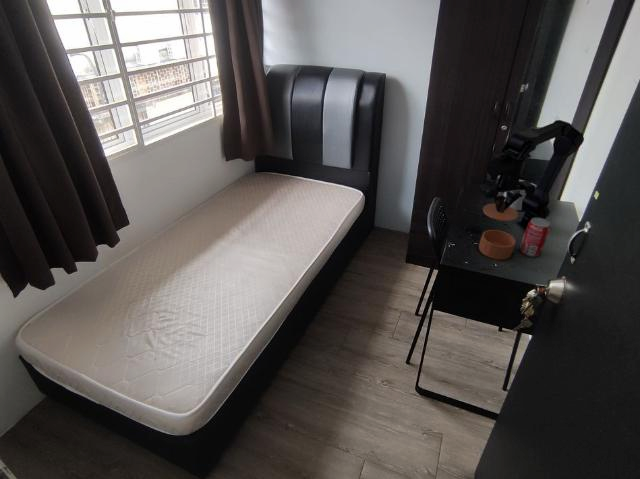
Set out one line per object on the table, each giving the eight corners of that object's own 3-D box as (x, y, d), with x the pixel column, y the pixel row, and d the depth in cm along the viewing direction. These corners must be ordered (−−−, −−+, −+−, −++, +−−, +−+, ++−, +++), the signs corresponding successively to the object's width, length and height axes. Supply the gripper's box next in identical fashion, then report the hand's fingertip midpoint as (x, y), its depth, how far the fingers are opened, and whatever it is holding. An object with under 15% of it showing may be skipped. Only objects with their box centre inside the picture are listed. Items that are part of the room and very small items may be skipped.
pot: (500, 240, 147) (504, 228, 144) (517, 258, 138) (522, 245, 135) (473, 243, 146) (476, 231, 143) (488, 261, 136) (493, 248, 133)
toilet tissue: (495, 200, 174) (501, 180, 169) (518, 197, 177) (525, 177, 171) (510, 211, 166) (517, 191, 160) (534, 208, 168) (542, 188, 163)
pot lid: (504, 204, 148) (508, 192, 145) (524, 220, 138) (528, 208, 135) (476, 207, 146) (479, 195, 143) (493, 223, 136) (497, 211, 133)
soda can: (542, 259, 138) (555, 228, 130) (521, 256, 139) (532, 226, 132) (537, 247, 144) (549, 218, 136) (516, 245, 145) (527, 215, 137)
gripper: (522, 159, 140) (510, 197, 149) (475, 163, 137) (466, 201, 146) (542, 172, 131) (528, 211, 140) (493, 176, 128) (481, 216, 137)
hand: (500, 210), depth 141 cm, fingers closed on pot lid, 2 cm apart
